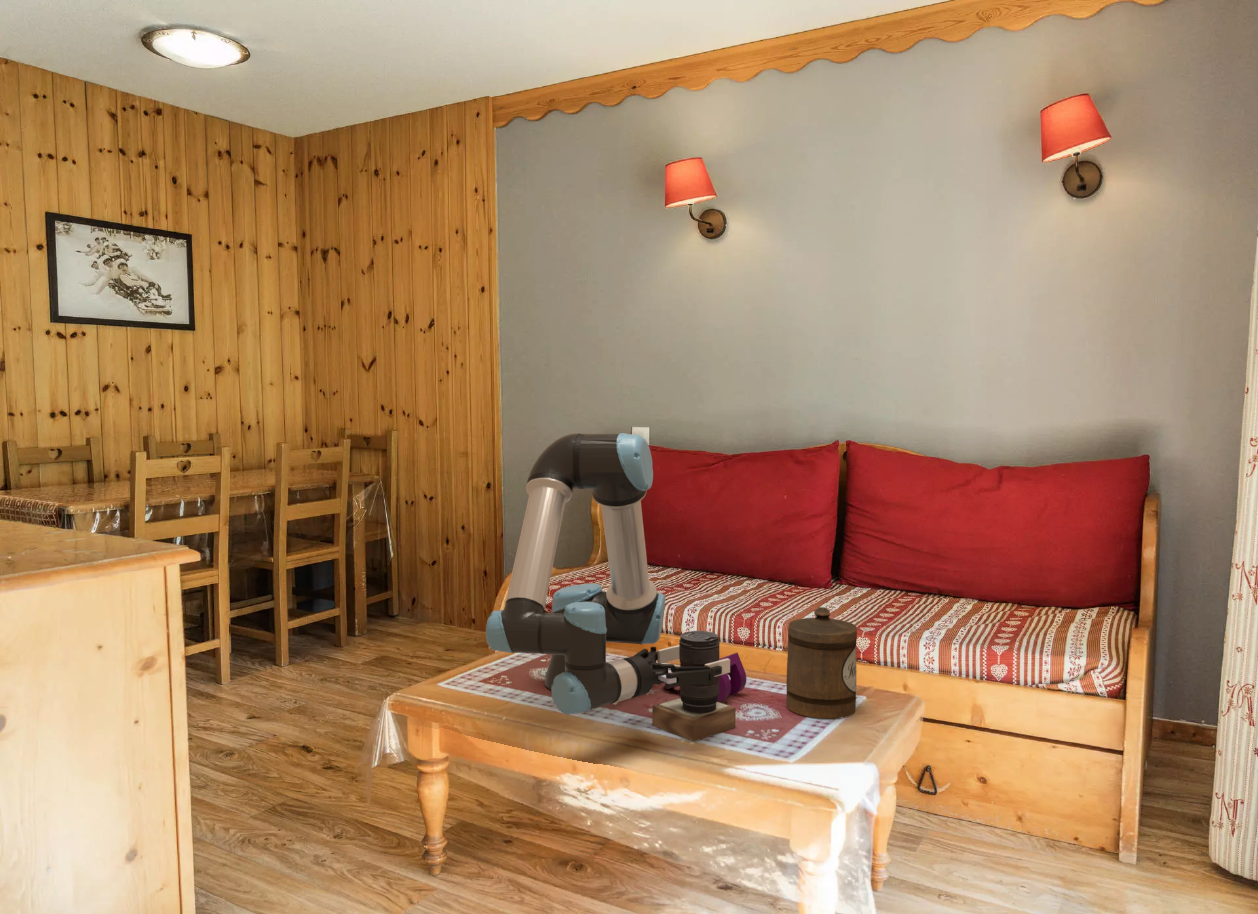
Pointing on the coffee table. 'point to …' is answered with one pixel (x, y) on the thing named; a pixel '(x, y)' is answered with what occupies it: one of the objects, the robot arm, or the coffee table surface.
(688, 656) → the camera lens
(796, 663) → the wooden container
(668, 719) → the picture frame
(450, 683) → the coffee table surface
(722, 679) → the mounting bracket
